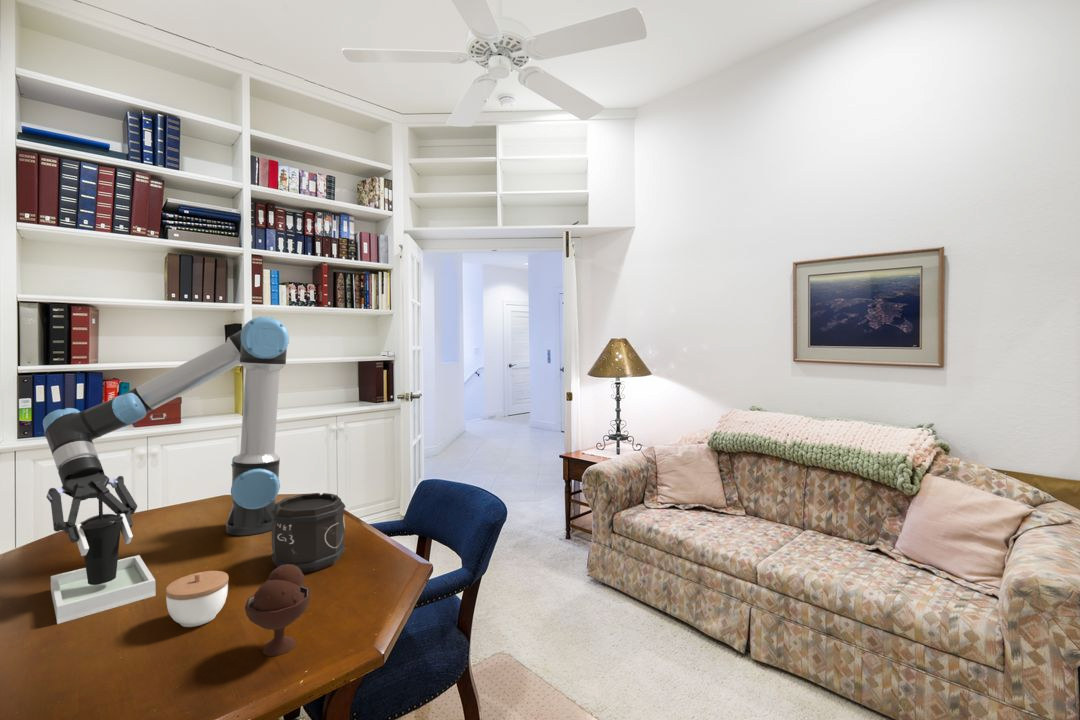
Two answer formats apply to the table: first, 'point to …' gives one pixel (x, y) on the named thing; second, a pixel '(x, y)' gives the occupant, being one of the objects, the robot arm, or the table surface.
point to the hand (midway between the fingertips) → (108, 546)
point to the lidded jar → (197, 597)
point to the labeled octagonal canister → (308, 531)
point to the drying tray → (100, 590)
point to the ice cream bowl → (279, 606)
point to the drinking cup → (102, 545)
